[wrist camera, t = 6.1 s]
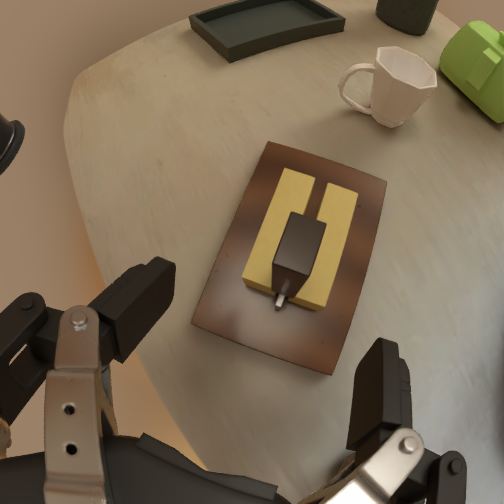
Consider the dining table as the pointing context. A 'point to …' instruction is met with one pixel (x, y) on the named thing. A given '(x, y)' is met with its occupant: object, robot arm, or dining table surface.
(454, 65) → the teapot
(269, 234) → the butter
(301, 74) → the dining table surface
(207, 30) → the tray
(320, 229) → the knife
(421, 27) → the bottle
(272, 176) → the board
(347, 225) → the butter
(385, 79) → the cup
